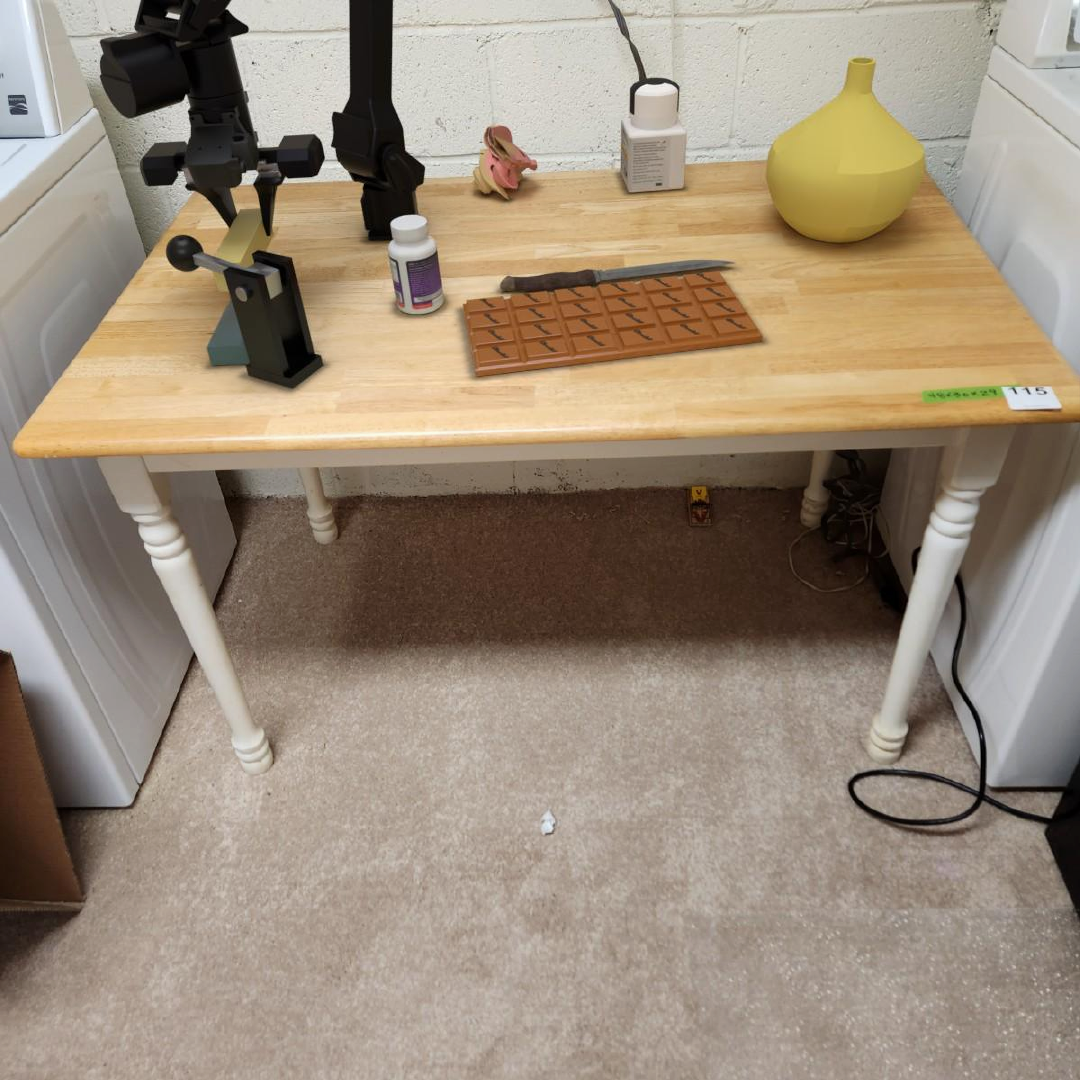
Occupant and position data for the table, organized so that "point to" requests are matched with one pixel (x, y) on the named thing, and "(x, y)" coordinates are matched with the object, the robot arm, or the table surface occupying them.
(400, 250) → the pill bottle
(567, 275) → the knife
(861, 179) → the vase
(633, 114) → the container
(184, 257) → the lever handle
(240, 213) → the butter
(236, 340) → the butter dish
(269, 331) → the stand
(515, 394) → the table surface
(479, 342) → the chocolate bar
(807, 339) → the table surface
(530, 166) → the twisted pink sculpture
